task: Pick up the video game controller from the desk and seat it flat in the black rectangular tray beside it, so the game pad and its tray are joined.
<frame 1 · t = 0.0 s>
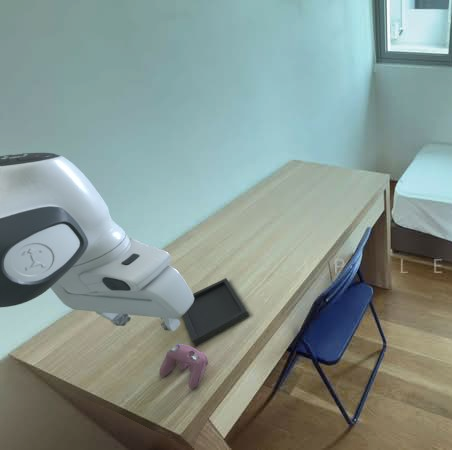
hand: (148, 325, 51), 21 cm above the table, tool pointing down, fingers open, 8 cm apart
black rectangular tray: (214, 311, 80), on the table
video game controller: (189, 371, 67), on the table
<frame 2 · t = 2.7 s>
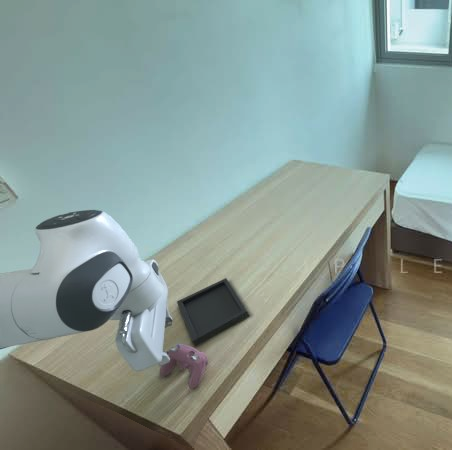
hand: (166, 341, 61), 11 cm above the table, tool pointing down, fingers open, 8 cm apart
nothing on the table moved.
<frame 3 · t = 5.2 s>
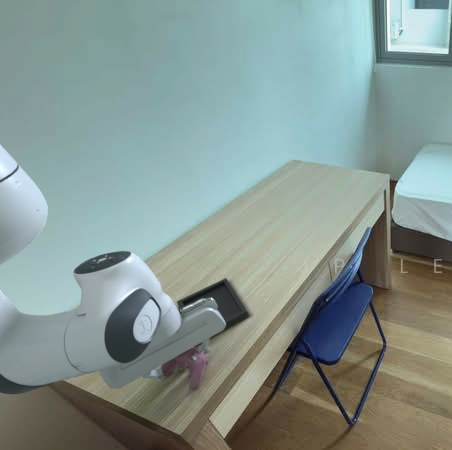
hand: (184, 364, 65), 2 cm above the table, tool pointing down, fingers closed on video game controller, 7 cm apart
video game controller: (189, 371, 67), on the table, touching gripper
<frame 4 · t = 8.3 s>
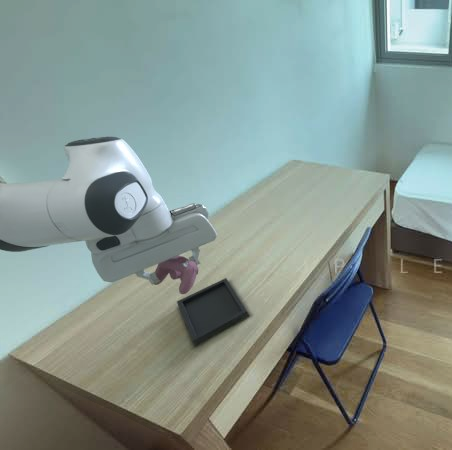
hand: (176, 272, 67), 18 cm above the table, tool pointing down, fingers closed on video game controller, 6 cm apart
video game controller: (181, 282, 68), point 15 cm above the table, touching gripper
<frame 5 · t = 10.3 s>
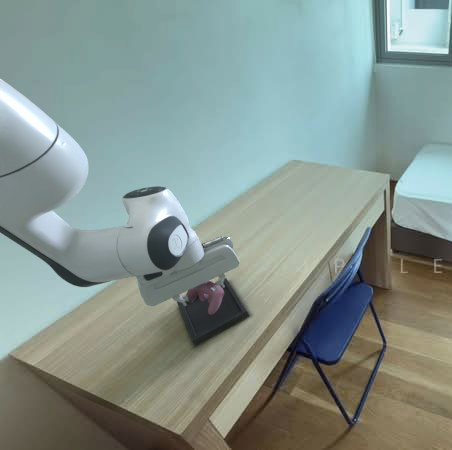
hand: (204, 295, 77), 6 cm above the table, tool pointing down, fingers closed on video game controller, 6 cm apart
video game controller: (208, 303, 78), point 3 cm above the table, touching gripper
when the fingers open (3 cm above the table, at t = 11.8 s): video game controller stays where it is, resting on black rectangular tray.
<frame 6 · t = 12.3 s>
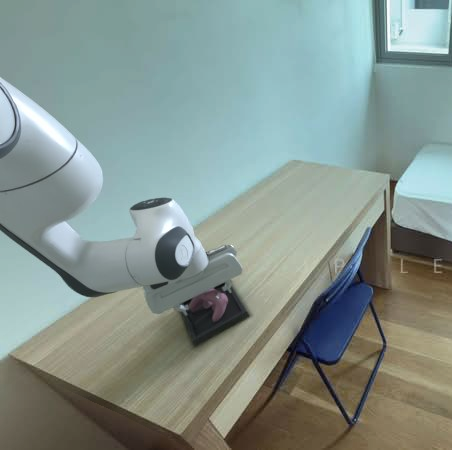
hand: (208, 302, 78), 3 cm above the table, tool pointing down, fingers open, 8 cm apart
video game controller: (212, 310, 80), point 1 cm above the table, touching black rectangular tray
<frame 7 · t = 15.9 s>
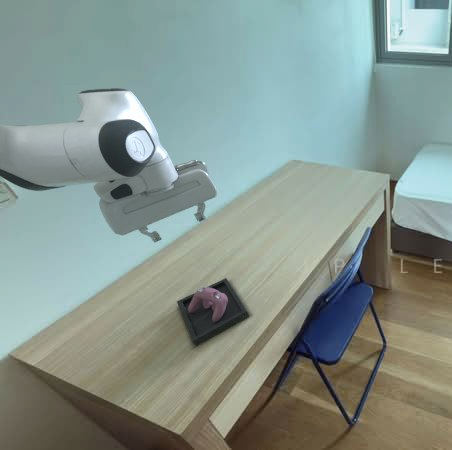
hand: (180, 229, 70), 24 cm above the table, tool pointing down, fingers open, 8 cm apart
nothing on the table moved.
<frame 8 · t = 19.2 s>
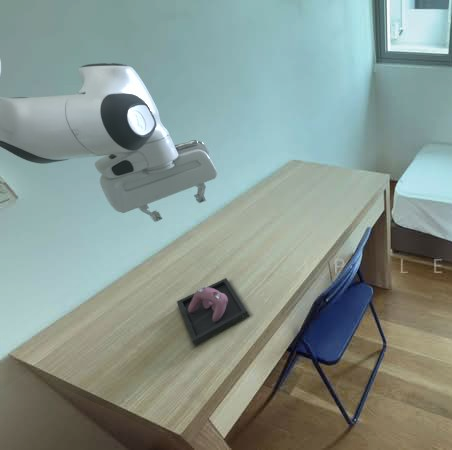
hand: (180, 210, 70), 27 cm above the table, tool pointing down, fingers open, 8 cm apart
nothing on the table moved.
at the end: video game controller 0.4 cm off-centre in the black rectangular tray, point 0.6 cm above the black rectangular tray's base; video game controller tilted 1°; the gripper is holding nothing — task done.
